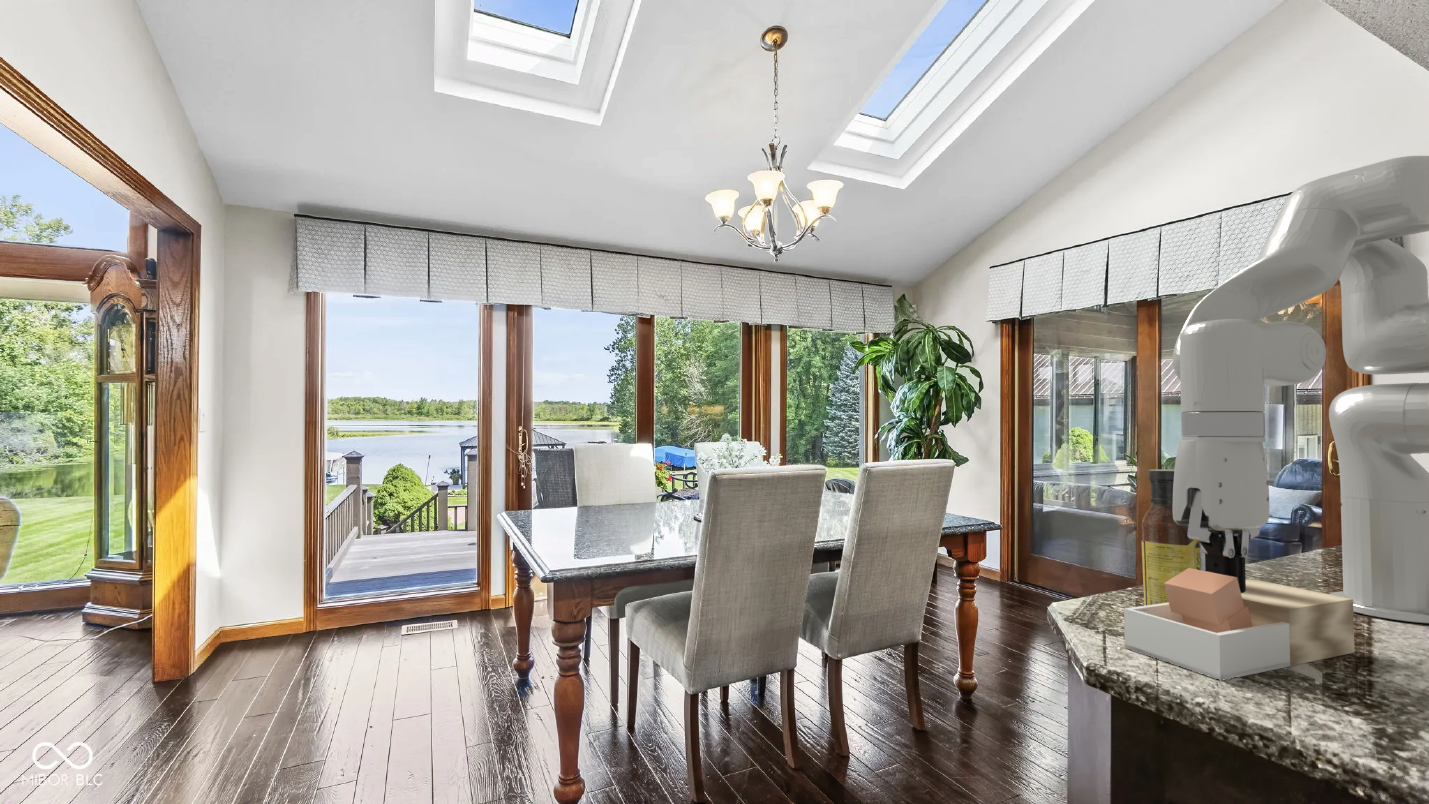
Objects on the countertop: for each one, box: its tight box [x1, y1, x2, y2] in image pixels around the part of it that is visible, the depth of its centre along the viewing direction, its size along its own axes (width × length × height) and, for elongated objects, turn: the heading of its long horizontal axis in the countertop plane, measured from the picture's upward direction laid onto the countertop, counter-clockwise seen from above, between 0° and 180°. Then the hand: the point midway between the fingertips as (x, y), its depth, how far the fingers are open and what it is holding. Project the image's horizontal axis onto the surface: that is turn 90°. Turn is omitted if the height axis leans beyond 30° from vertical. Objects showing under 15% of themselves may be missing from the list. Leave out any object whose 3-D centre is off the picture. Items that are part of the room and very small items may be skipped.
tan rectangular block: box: [1241, 578, 1356, 667], centre depth 75 cm, size 12×10×6 cm
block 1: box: [1164, 568, 1244, 624], centre depth 71 cm, size 4×5×4 cm
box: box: [1123, 602, 1291, 681], centre depth 71 cm, size 12×10×4 cm
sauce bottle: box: [1141, 468, 1202, 606], centre depth 83 cm, size 6×6×20 cm
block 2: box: [1182, 606, 1253, 633], centre depth 72 cm, size 4×5×4 cm
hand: (1225, 590), depth 72 cm, fingers closed
